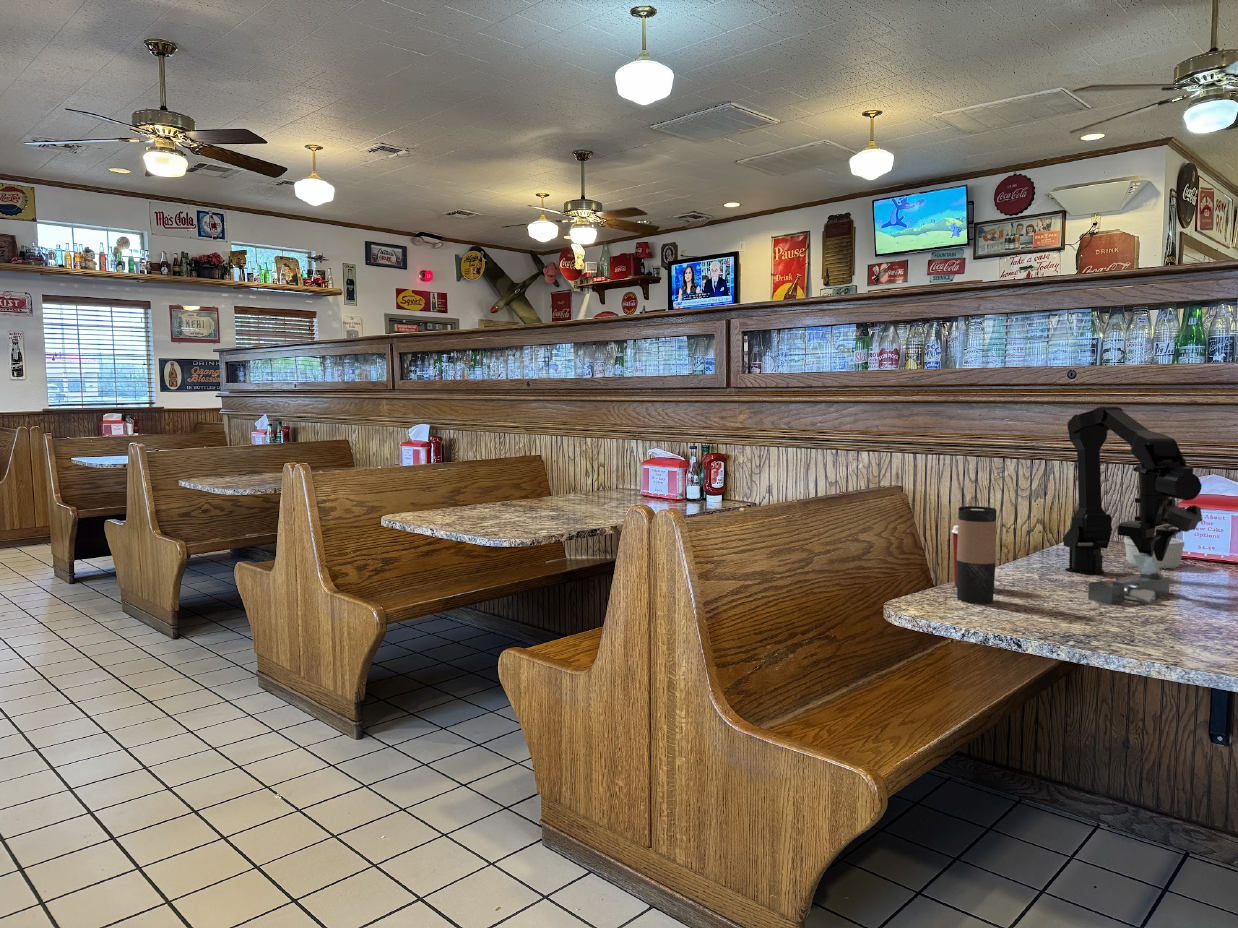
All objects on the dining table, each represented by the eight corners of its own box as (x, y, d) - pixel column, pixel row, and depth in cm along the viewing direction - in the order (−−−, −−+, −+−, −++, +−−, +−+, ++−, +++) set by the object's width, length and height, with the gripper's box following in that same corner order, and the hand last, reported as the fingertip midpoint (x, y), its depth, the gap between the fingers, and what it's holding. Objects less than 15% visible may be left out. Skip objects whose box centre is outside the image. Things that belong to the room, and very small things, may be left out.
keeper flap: (1141, 575, 183) (1131, 554, 181) (1142, 572, 183) (1133, 551, 181) (1161, 579, 179) (1152, 557, 177) (1163, 576, 179) (1154, 554, 177)
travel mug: (999, 599, 175) (1002, 508, 174) (987, 606, 169) (989, 511, 168) (963, 594, 180) (965, 505, 179) (950, 600, 175) (952, 508, 173)
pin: (1093, 596, 178) (1093, 583, 178) (1109, 592, 182) (1110, 579, 181) (1143, 606, 169) (1144, 592, 169) (1159, 601, 173) (1160, 587, 173)
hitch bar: (1088, 599, 175) (1088, 580, 175) (1145, 589, 185) (1146, 571, 184) (1111, 604, 171) (1112, 584, 170) (1169, 593, 180) (1169, 574, 180)
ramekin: (1114, 560, 220) (1115, 534, 220) (1166, 561, 218) (1167, 535, 218) (1138, 569, 207) (1139, 542, 207) (1194, 570, 205) (1195, 543, 205)
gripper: (1169, 503, 168) (1169, 576, 170) (1217, 491, 177) (1216, 561, 178) (1115, 497, 178) (1115, 567, 180) (1163, 487, 187) (1162, 553, 188)
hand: (1154, 562), depth 181 cm, fingers open, 4 cm apart
